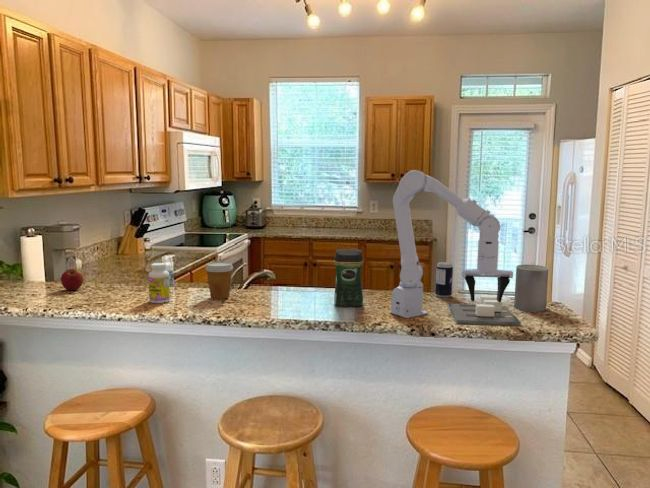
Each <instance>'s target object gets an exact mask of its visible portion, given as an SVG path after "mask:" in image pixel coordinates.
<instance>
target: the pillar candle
mask: <svg viewBox="0 0 650 488" xmlns="http://www.w3.org/2000/svg"><path fill="white" fill-rule="evenodd" d="M548 279H549V267H547V266H543V265H539V264H534V263H533V262H532V263H531V264H519V265H516V268H515V286H514V304H513V305H514V306H513V307H514V309H516V310H518V309H519V311H522V310H523V312H528V311H529V313H538V312H540V313H541V312H545V311H546V310H547V309H546V308H547V300H548V298H547V297H548V282H549V280H548Z"/></svg>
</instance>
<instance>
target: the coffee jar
mask: <svg viewBox="0 0 650 488" xmlns="http://www.w3.org/2000/svg"><path fill="white" fill-rule="evenodd" d="M333 264H334V267H335V286H334V294H333V295H334V296H333V297H334V298H333V303H334V305H335V306H337V307H343V308H347V307H348V308H351V307H352V308H353V307H354V308H355V307H360V306H362V305H363V303H364V295H363V285H362V269H363V268H362V267H363V265H364V259H363V252H362V250H361V249H347V248H346V249H345V248H344V249H343V248H342V249H336V251H335V255H334V260H333Z"/></svg>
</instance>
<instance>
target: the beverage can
mask: <svg viewBox="0 0 650 488" xmlns="http://www.w3.org/2000/svg"><path fill="white" fill-rule="evenodd" d="M453 273H454V267H453V263H452V262H449V261H448V262H446V261H440V262H439V261H438V262H437V265H436V271H435V295H436V296H437V297H438V298H450V296H452V295H453V294H452V293H453V275H454V274H453Z"/></svg>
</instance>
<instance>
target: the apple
mask: <svg viewBox="0 0 650 488" xmlns="http://www.w3.org/2000/svg"><path fill="white" fill-rule="evenodd" d="M84 279H85V278H84V275H83V273H82V272H81V271H80V270H78V269H76V268H70V269H67V270H64V272H63V273H62V275H61V276H60V283H61V285H62V287H63V288H64V289H65V290H66V291H72V290H74V291H77V290H78V289H80V288H81V287H82V286H83V283H84V281H85V280H84Z"/></svg>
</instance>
